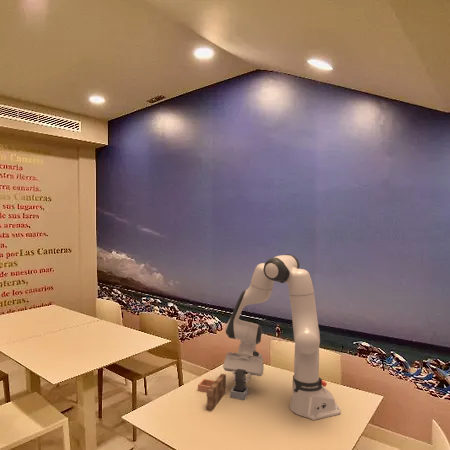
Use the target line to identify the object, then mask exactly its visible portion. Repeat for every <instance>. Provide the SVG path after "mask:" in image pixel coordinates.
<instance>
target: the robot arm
mask: <svg viewBox="0 0 450 450" xmlns="http://www.w3.org/2000/svg"><path fill="white" fill-rule="evenodd" d="M300 265H301V264H300V261H299V259H298V258H297V257H296V256H295V255H293V254H289V253H288V254H282V255H276V256H274V257H270V258H269V259H267V260H266V262H263V263H262V262H261V263H258V264H257V265H256V266H255V269H254V271H253V273H252V277H251V281H250V284H249V287H247V288H246V289H245V290H243V291H242V292H241V293H240V295H239V298H238V299H237V301H236V303H235V307H234V308H233V311H232V314H231V315H230V318H229V320H228V321H227V323H226V326H225V335H227V337H228V338H229V339H233V340H239V341H240V343H239V346H238V349H237V352H231V351H230V352H227V353H226V354H225V357H224V361H223V365H222V368H223V370H224V371H225V372H231V374H232V375H233V377H232V378H233V379H232V380H233V382H235V372H236V370H237V369H243V370H246V371H245V372H246V378H244V383H246V384H248V382H249V380H250V379H251V378H252V376H255V377H256V376H257V377H262V376H263V375H264V371H265V370H264V369H265V367H264V363H263V362H264V358H263V357H264V356H263V355H262V353H260V352H258V351H257V349H256V346H257V345H258V344H260V343H261V341H262V334H263V332H264V331H263V328H262V326H261V325H260V324H258V323H254V322H250V321H246V320H242V319H240V316H241V314H242V311H243V309H244V308H245V307H246V306H249V305H256V304H257V305H258V304H262V303H264V302H267V301H268V300H269V299H270V298H271V295H272V293H273V289H274V285H275V284H274V283H275V282H277V283H281V284H284V283H286V284H287V286H288V293H289V301H290V308H291V319H292V321H291V322H292V329H293V330H292V331H293V340H294V359H293V361H294V363H293V365H294V367H293V375H292V395H291V399H290V403H289V408H290V410H291V411H292V412H293V413H294V414H296V415H298V416H301V417H305V418H307V419H309V420H312V421H316V420H321V419H325V418H329V417H334V416H337V415H341V413H342V412H341V408H340V406H339V405H338V404H337V402H336V401H335V397H334V395H333V394H332V393H331V391H330V390H328V389H327V388H326V386H327V385H328V384H327V383H328V382H326V381H325V380H323V379H322V378H321V377H320V375H319V374H320V343H321V336H320V328H319V322H318V321H319V320H318V313H317V306H316V298H315V297H316V296H315V290H314V285H313V280H312V278H311V275H310V272H309V271H308V270H306V269H304V268H300Z"/></svg>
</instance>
